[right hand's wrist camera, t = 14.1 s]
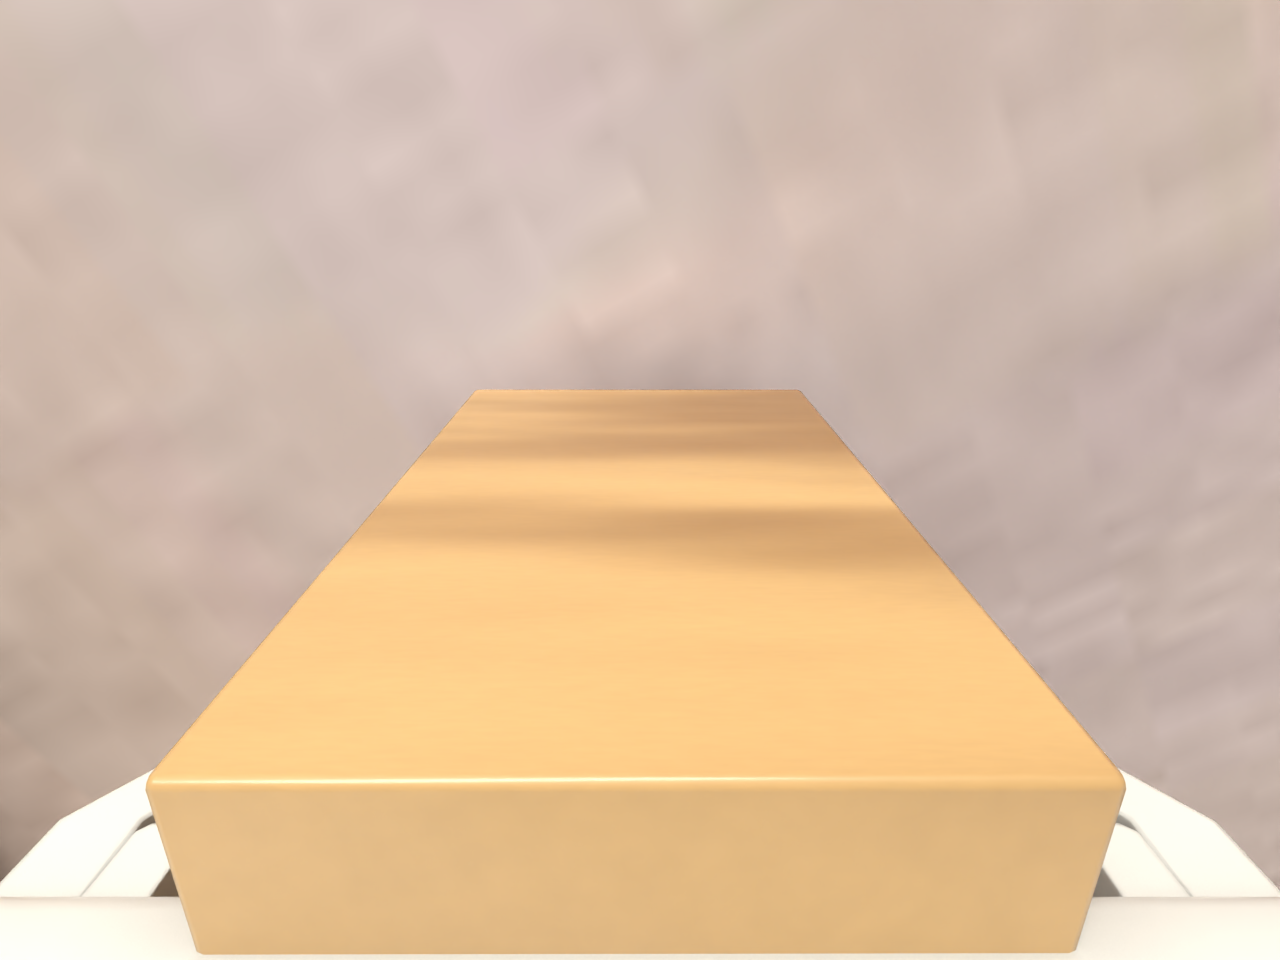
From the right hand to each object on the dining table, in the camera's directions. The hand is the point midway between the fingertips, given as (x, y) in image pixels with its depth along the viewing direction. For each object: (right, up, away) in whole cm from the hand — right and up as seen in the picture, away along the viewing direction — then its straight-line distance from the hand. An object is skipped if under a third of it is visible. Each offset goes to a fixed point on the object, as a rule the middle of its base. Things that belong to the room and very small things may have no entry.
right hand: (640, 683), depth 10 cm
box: (0, -6, +7) cm, 9 cm away
